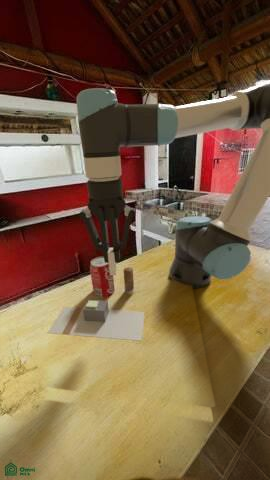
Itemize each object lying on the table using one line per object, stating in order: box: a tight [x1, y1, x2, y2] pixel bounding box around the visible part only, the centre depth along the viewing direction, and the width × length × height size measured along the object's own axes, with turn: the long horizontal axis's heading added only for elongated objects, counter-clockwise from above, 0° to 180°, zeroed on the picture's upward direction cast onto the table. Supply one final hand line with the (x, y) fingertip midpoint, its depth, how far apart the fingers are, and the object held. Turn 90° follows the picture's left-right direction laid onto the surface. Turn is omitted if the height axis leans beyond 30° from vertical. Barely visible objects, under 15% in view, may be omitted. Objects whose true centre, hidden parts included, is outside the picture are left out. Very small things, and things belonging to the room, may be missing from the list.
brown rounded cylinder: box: [123, 266, 135, 295], centre depth 69 cm, size 3×3×10 cm
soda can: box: [89, 256, 116, 299], centre depth 69 cm, size 7×7×13 cm
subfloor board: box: [47, 306, 146, 342], centre depth 59 cm, size 25×10×2 cm, turn 82°
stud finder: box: [82, 299, 110, 322], centre depth 60 cm, size 6×4×4 cm, turn 82°
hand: (113, 272), depth 54 cm, fingers closed
